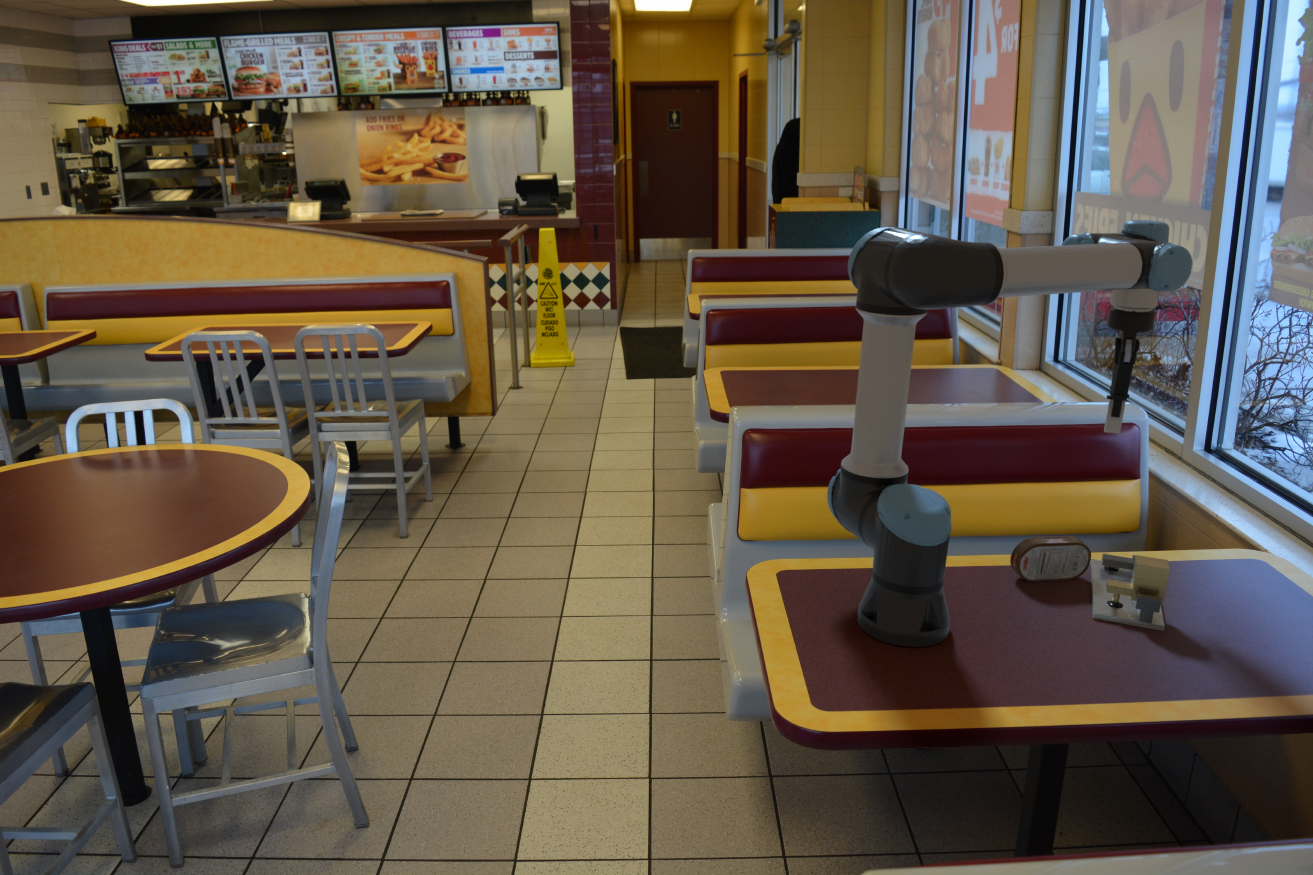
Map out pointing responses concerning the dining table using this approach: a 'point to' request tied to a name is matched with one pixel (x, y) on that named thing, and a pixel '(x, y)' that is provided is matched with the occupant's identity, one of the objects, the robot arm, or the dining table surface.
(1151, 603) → the grey slide rail base
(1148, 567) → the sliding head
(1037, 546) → the tin
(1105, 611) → the bolt plate
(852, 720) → the dining table surface
